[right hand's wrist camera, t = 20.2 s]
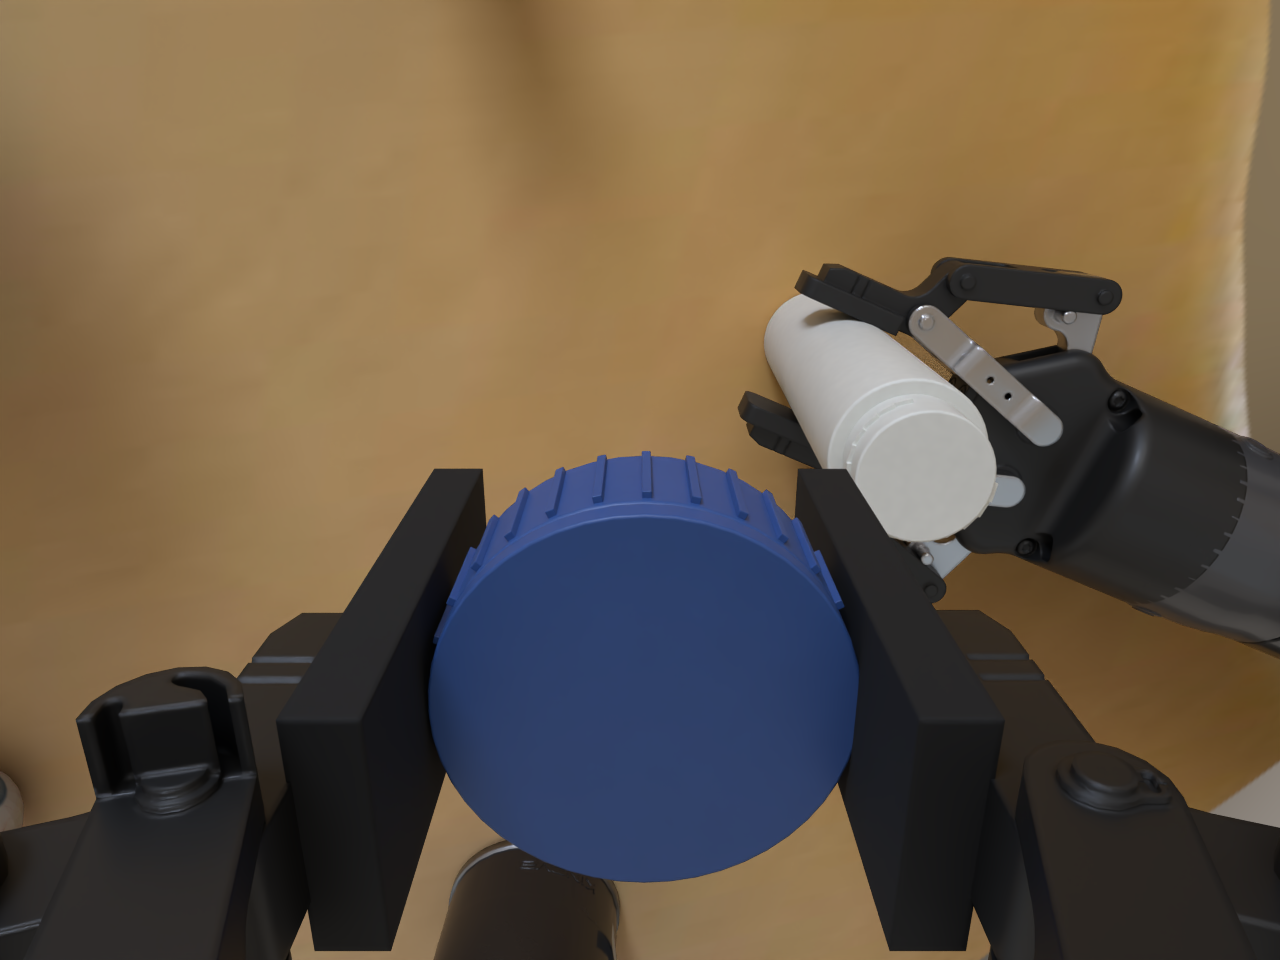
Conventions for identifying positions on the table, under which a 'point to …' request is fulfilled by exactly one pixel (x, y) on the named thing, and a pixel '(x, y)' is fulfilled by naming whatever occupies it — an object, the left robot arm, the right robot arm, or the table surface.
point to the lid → (643, 672)
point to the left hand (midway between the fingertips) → (773, 344)
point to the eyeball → (10, 804)
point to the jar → (883, 420)
